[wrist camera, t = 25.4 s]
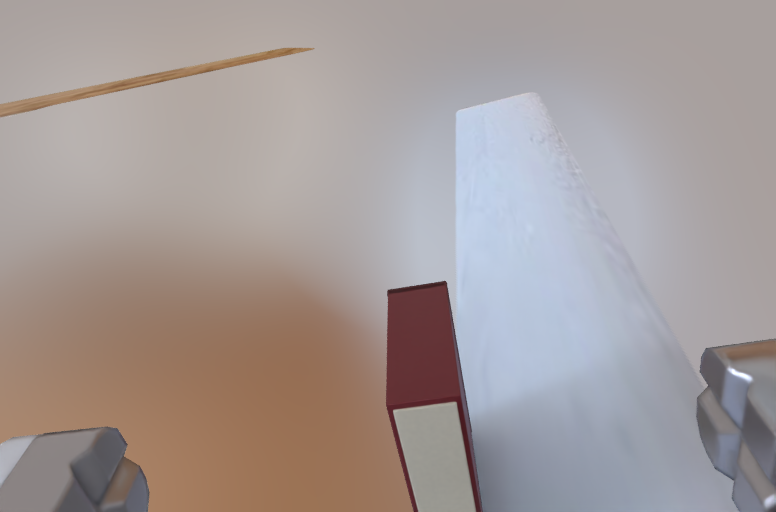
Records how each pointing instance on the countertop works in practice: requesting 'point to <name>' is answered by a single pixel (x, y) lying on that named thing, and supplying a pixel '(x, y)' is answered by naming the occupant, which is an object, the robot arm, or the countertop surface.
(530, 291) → the countertop surface
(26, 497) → the robot arm
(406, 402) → the burgundy book
